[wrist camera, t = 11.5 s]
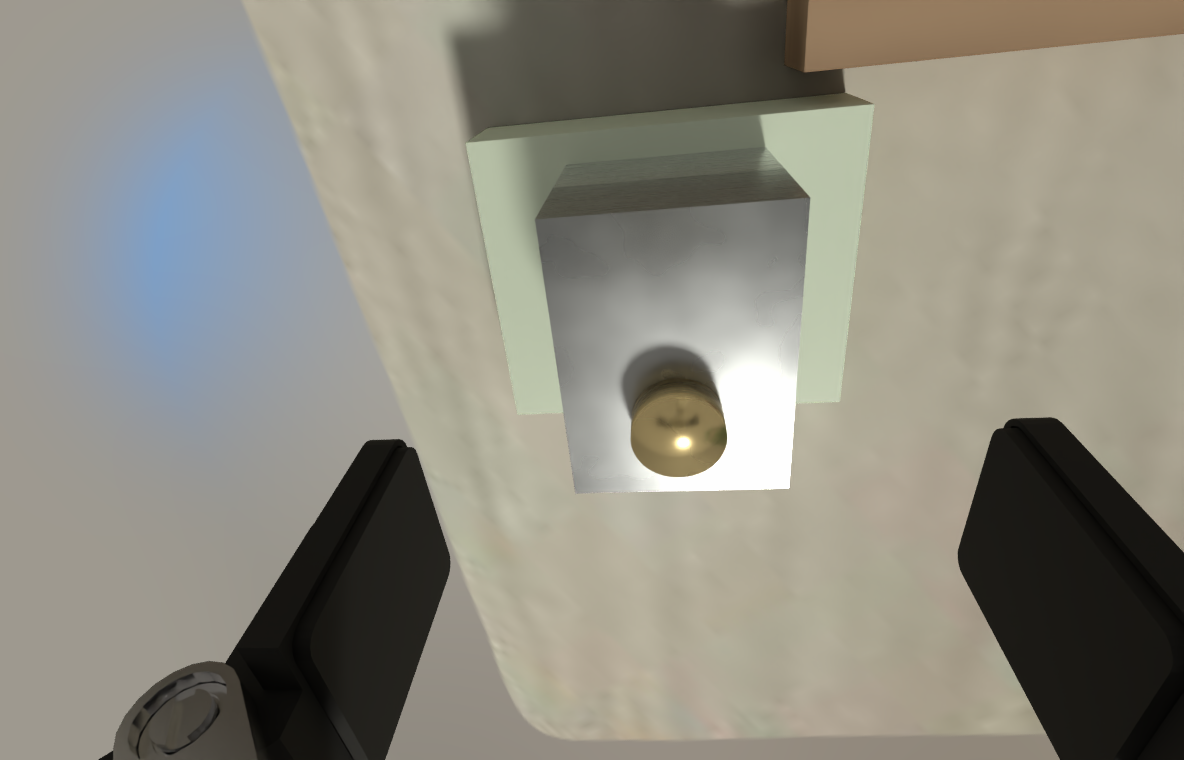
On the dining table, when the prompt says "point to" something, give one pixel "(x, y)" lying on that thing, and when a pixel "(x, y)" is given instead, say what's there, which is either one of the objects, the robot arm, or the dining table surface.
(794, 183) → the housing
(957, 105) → the dining table surface
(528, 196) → the stand
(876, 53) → the stand
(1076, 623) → the robot arm
